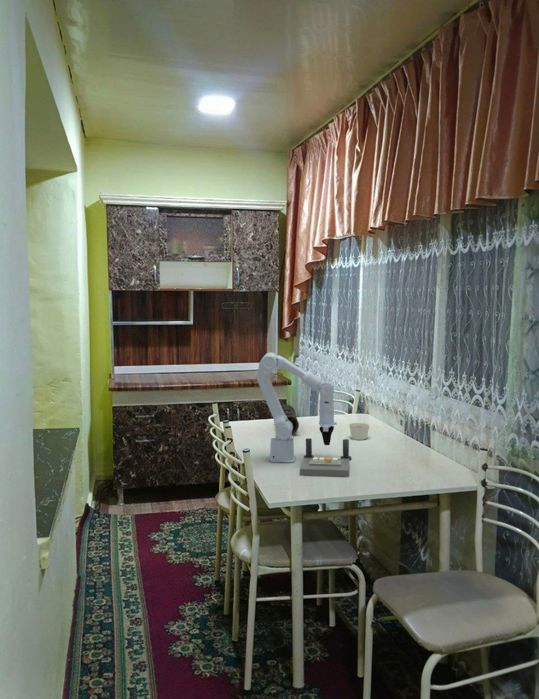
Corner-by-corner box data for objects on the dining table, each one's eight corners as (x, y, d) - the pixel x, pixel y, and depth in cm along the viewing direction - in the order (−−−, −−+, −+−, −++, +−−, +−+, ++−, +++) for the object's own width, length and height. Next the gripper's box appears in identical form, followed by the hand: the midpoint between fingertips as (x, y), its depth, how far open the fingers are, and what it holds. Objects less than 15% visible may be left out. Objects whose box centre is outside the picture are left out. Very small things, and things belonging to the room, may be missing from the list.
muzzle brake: (279, 437, 271) (278, 415, 270) (276, 423, 299) (276, 403, 298) (299, 436, 272) (299, 415, 270) (294, 422, 299) (294, 403, 298)
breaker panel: (300, 475, 216) (299, 463, 215) (303, 464, 229) (303, 452, 229) (348, 476, 213) (348, 464, 212) (349, 465, 227) (349, 453, 226)
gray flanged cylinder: (303, 459, 235) (302, 440, 234) (304, 456, 239) (303, 437, 239) (313, 460, 234) (313, 440, 234) (314, 456, 239) (314, 437, 238)
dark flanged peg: (340, 460, 233) (340, 441, 232) (340, 457, 237) (340, 438, 236) (351, 461, 232) (351, 441, 231) (351, 457, 237) (351, 438, 236)
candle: (367, 441, 261) (367, 427, 260) (347, 440, 264) (347, 426, 263) (370, 436, 269) (370, 423, 268) (351, 435, 272) (351, 422, 271)
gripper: (335, 415, 224) (336, 450, 225) (337, 407, 238) (337, 440, 240) (317, 415, 225) (317, 449, 226) (320, 407, 239) (320, 439, 241)
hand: (326, 444), depth 233 cm, fingers closed
